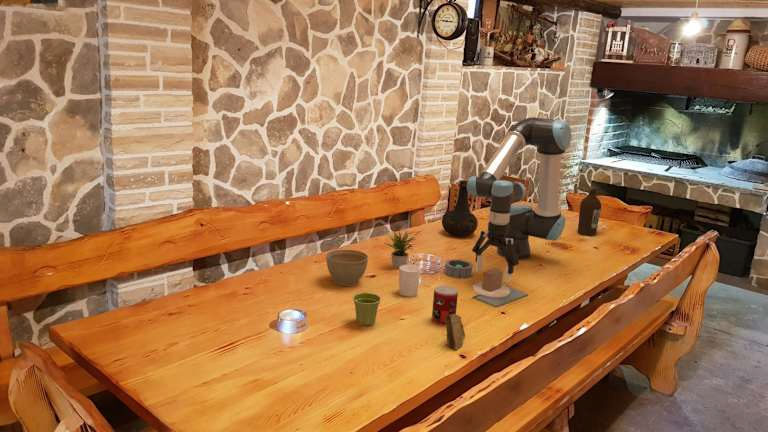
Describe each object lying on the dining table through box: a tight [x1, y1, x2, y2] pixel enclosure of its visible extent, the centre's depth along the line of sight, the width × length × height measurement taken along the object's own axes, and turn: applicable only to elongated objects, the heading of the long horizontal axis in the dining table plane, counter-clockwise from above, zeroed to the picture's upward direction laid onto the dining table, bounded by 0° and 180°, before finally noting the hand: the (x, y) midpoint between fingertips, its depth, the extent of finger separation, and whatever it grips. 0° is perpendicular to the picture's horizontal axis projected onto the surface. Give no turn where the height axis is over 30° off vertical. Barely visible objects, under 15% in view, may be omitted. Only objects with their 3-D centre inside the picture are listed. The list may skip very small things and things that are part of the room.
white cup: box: [398, 264, 422, 298], centre depth 232 cm, size 8×8×10 cm
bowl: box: [444, 259, 474, 279], centre depth 254 cm, size 11×11×5 cm
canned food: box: [431, 285, 459, 325], centre depth 210 cm, size 8×8×11 cm
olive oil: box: [577, 186, 602, 237], centre depth 326 cm, size 11×11×25 cm
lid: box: [472, 267, 510, 298], centre depth 237 cm, size 14×14×8 cm
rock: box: [445, 313, 466, 352], centre depth 195 cm, size 11×9×10 cm
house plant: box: [385, 230, 418, 269], centre depth 256 cm, size 14×14×16 cm
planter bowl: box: [325, 249, 369, 287], centre depth 239 cm, size 16×16×11 cm
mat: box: [471, 285, 529, 308], centre depth 238 cm, size 20×20×1 cm
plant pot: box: [352, 292, 382, 327], centre depth 205 cm, size 9×9×9 cm
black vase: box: [441, 179, 479, 238], centre depth 309 cm, size 18×18×28 cm
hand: (492, 276), depth 237 cm, fingers open, 13 cm apart
